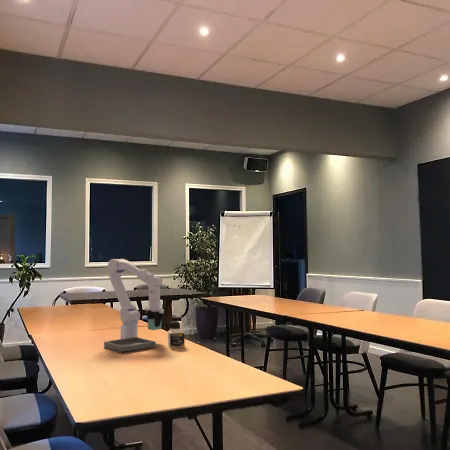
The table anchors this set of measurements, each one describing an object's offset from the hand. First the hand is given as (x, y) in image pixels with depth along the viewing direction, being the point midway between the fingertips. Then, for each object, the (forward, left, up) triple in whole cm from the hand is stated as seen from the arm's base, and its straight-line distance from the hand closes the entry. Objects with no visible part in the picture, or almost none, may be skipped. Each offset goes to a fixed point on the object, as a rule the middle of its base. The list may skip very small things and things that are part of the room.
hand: (154, 326), depth 237 cm
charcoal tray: (+3, -16, -8) cm, 18 cm away
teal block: (0, 0, -2) cm, 2 cm away
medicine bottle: (+15, +3, -8) cm, 18 cm away
